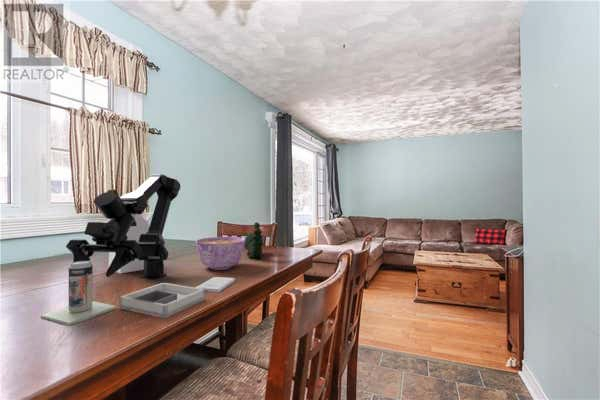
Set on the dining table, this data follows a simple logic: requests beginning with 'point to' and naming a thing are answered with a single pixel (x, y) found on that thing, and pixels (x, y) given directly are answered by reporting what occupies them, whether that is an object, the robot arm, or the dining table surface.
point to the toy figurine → (254, 243)
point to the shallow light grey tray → (162, 299)
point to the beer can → (80, 286)
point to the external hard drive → (216, 284)
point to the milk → (135, 235)
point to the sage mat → (72, 318)
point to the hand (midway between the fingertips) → (89, 276)
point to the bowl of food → (220, 251)
